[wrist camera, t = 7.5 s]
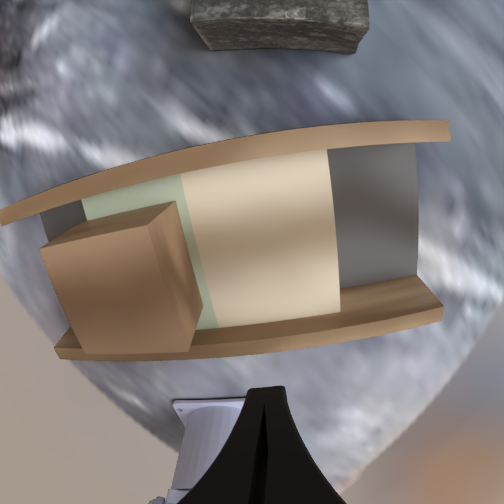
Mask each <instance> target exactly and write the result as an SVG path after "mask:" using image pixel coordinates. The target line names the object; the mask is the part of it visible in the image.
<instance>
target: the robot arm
mask: <svg viewBox="0 0 504 504" xmlns="http://www.w3.org/2000/svg"><path fill="white" fill-rule="evenodd" d="M173 407H174V409H175V411H176V413H177V415H178V416H179V418H180V420H181V422H182V423H183V425H184V427H185V432H184V436H183V440H182V444H181V448H180V452H179V457H178V461H177V465H176V469H175V474H174V478H173V482H172V487H171V489H168V494H167V498H166V502H165V498H163V497H160V496H158V497H156V499H153V500H151V501H150V502H149V503H148V504H346V503H345V501H344V500H343V499H342V498H341V497H340V496H339V495H338V493H337V492H336V491H335V490H334V488H333V487H332V486H331V484H330V483H329V482H328V481H327V479H326V478H325V477H324V475H323V474H322V472H321V471H320V469H319V468H318V466H317V465H316V463H315V462H314V460H313V458H312V457H311V455H310V453H309V452H308V450H307V448H306V446H305V444H304V442H303V440H302V438H301V436H300V434H299V432H298V430H297V428H296V425H295V423H294V421H293V418H292V415H291V413H290V410H289V406H288V402H287V396H286V390H285V387H284V386H273V387H263V388H252V389H249V390H248V392H247V395H246V398H239V399H220V400H176V401H174V402H173Z"/></svg>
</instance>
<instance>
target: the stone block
mask: <svg viewBox="0 0 504 504" xmlns="http://www.w3.org/2000/svg"><path fill="white" fill-rule="evenodd" d="M190 22H191V24H192V25H193V27H194V28H195V30H196V31H197V33H198V34H199V35H200V37H201V38H202V39H203V41H204V42H205V43H206V45H207V46H208V48H209V49H210V50H211V51H214V50H233V49H303V50H322V51H333V52H338V53H340V54H355V53H356V51H357V48H358V43H359V42H360V41H361V40H362V38H363V36H364V35H365V34H366V33H367V31H368V30H369V10H368V2H367V0H192V2H191V15H190Z"/></svg>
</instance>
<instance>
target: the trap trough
mask: <svg viewBox="0 0 504 504" xmlns="http://www.w3.org/2000/svg"><path fill="white" fill-rule="evenodd" d="M441 141H451V137H450V127H449V121H446V120H396V121H374V122H358V123H345V124H334V125H324V126H314V127H306V128H298V129H290V130H283V131H276V132H269V133H263V134H257V135H251V136H245V137H239V138H234V139H228V140H223V141H218V142H213V143H208V144H204V145H199V146H194V147H190V148H186V149H181V150H177V151H173V152H169V153H165V154H161V155H157V156H153V157H149V158H146V159H142V160H138V161H135V162H131V163H128V164H124V165H121V166H117V167H114V168H111V169H107V170H104V171H101V172H98V173H95V174H92V175H89V176H86V177H83V178H80V179H77V180H74V181H71V182H68V183H65V184H63V185H60V186H57V187H54V188H52V189H49V190H46V191H44V192H41V193H39V194H36V195H34V196H31V197H29V198H26V199H24V200H22V201H19V202H17V203H15V204H12V205H10V206H8V207H6V208H3V209H1V210H0V223H1V226H4V225H7V224H10V223H12V222H15V221H18V220H20V219H23V218H26V217H29V216H32V215H34V214H37V213H40V215H41V218H42V221H43V225H44V228H45V231H46V234H47V237H48V240H49V242H50V241H52V240H53V239H55V238H56V237H58V236H60V235H61V234H63V233H64V232H66V231H68V230H69V229H71V228H72V227H74V226H76V225H77V224H79V223H81V222H85V221H89V220H93V219H97V218H101V217H105V216H109V215H113V214H117V213H122V212H126V211H130V210H135V209H139V208H144V207H148V206H153V205H157V204H162V203H167V202H172V201H176V203H177V207H178V211H179V216H180V220H181V224H182V228H183V232H184V236H185V240H186V243H187V247H188V251H189V255H190V259H191V262H192V266H193V270H194V273H195V277H196V281H197V284H198V288H199V291H200V295H201V298H202V302H203V305H204V306H203V309H202V312H201V315H200V318H199V321H198V324H197V327H196V330H195V333H194V336H193V339H192V342H191V345H190V348H189V351H188V352H174V353H148V354H85V352H84V350H83V348H82V346H81V344H80V343H79V341H78V339H77V337H76V335H75V333H74V331H73V329H72V327H70V328H69V330H68V331H67V332H66V333H65V334H64V336H63V337H62V338H61V339H60V341H59V342H58V343H57V344H56V346H55V347H54V349H55V351H56V353H57V355H58V356H59V358H60V359H70V360H94V361H162V360H188V359H205V358H220V357H232V356H243V355H253V354H263V353H272V352H280V351H288V350H296V349H303V348H310V347H316V346H323V345H329V344H335V343H341V342H347V341H352V340H358V339H363V338H368V337H373V336H378V335H383V334H388V333H392V332H397V331H401V330H406V329H410V328H414V327H419V326H423V325H427V324H431V323H435V322H438V321H442V315H443V309H444V306H443V305H442V304H441V302H440V301H439V300H438V299H437V298H436V296H435V295H434V294H433V293H432V292H431V291H430V289H429V288H428V287H427V286H426V285H425V284H424V283H423V281H422V280H421V279H420V278H419V277H418V276H417V259H418V179H417V162H416V150H415V142H441Z"/></svg>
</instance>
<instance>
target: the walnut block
mask: <svg viewBox="0 0 504 504" xmlns="http://www.w3.org/2000/svg"><path fill="white" fill-rule="evenodd" d="M39 251H40V254H41V256H42V259H43V262H44V265H45V267H46V270H47V272H48V275H49V277H50V280H51V282H52V285H53V287H54V290H55V292H56V294H57V297H58V299H59V301H60V303H61V306H62V308H63V310H64V312H65V314H66V316H67V319H68V321H69V323H70V325H71V327H72V329H73V331H74V333H75V335H76V337H77V339H78V341H79V343H80V344H81V346H82V348H83V350H84V352H85V354H148V353H174V352H188V351H189V348H190V345H191V342H192V339H193V336H194V333H195V330H196V327H197V324H198V321H199V318H200V315H201V312H202V309H203V306H204V305H203V302H202V298H201V295H200V291H199V288H198V284H197V281H196V277H195V273H194V270H193V266H192V262H191V259H190V255H189V251H188V247H187V243H186V240H185V236H184V232H183V228H182V224H181V220H180V216H179V211H178V207H177V203H176V201H172V202H167V203H162V204H157V205H153V206H148V207H144V208H139V209H135V210H130V211H126V212H122V213H117V214H113V215H109V216H105V217H101V218H97V219H93V220H89V221H85V222H81V223H79V224H77V225H76V226H74V227H72V228H71V229H69V230H68V231H66V232H64V233H63V234H61V235H60V236H58V237H56V238H55V239H53V240H52V241H50V242H49V243H47V244H46V245H44V246H43V247H41V248H40V249H39Z"/></svg>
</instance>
